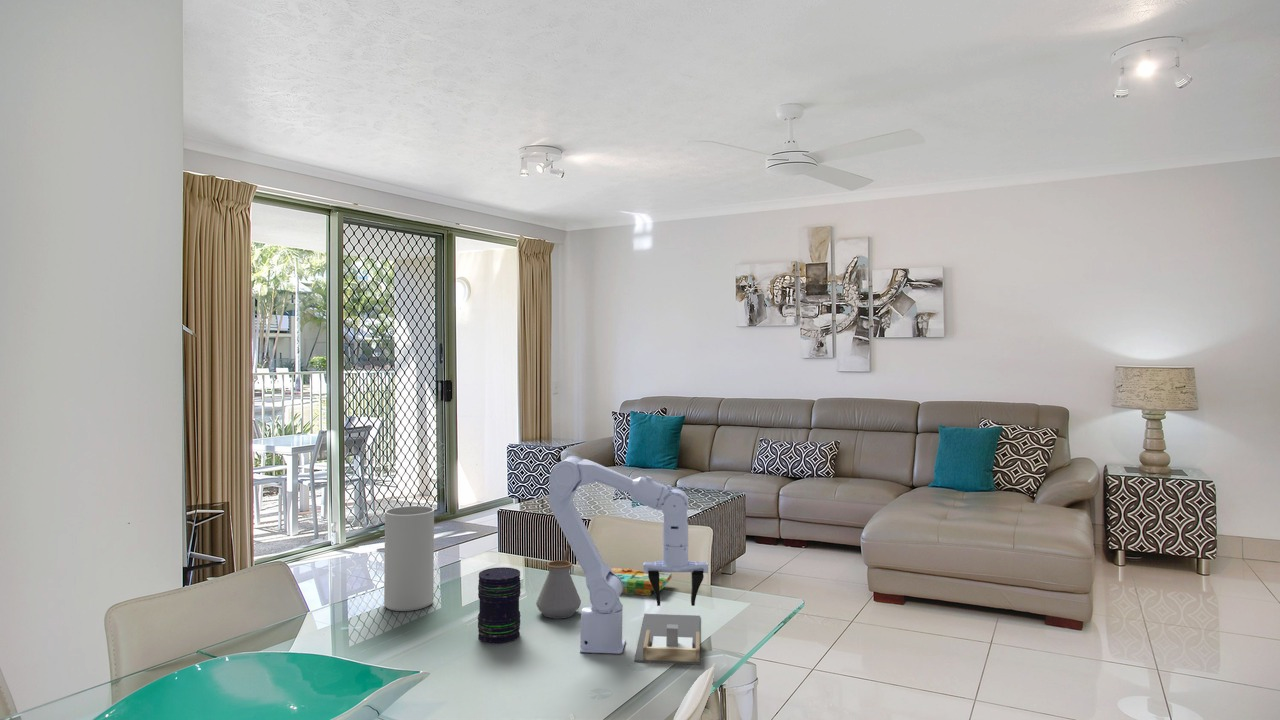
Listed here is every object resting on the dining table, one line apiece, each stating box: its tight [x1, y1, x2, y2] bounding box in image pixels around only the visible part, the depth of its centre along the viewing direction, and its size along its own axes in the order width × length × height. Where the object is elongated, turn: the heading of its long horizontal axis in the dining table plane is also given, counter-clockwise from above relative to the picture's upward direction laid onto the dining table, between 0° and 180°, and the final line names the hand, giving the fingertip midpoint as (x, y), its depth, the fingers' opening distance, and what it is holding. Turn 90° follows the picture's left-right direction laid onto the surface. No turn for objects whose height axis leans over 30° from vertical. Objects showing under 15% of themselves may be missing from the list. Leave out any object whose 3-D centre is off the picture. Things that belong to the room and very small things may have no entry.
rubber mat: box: [633, 613, 701, 666], centre depth 173 cm, size 14×30×1 cm, turn 175°
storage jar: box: [477, 566, 522, 645], centre depth 173 cm, size 10×10×15 cm
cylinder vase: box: [383, 505, 435, 612], centre depth 196 cm, size 12×12×25 cm
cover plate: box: [652, 624, 693, 648], centre depth 165 cm, size 9×9×5 cm
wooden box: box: [643, 630, 701, 662], centre depth 164 cm, size 12×11×3 cm
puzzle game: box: [610, 567, 673, 596], centre depth 211 cm, size 12×5×20 cm
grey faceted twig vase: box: [535, 542, 582, 620], centre depth 194 cm, size 21×12×15 cm, turn 174°
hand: (675, 604), depth 165 cm, fingers open, 7 cm apart
